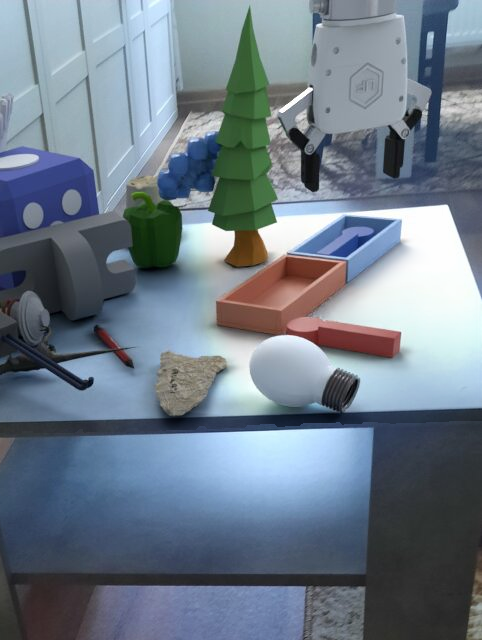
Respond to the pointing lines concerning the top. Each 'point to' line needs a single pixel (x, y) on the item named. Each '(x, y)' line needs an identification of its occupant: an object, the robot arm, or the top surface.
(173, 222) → the bell pepper
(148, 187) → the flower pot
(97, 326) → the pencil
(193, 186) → the grapes
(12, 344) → the dark blue hooked rod
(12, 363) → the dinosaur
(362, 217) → the blue bin
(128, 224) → the bracket
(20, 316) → the shock absorber
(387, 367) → the top surface
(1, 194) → the toy
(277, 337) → the light bulb
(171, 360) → the stone tool
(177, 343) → the top surface
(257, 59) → the decorative tree
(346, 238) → the blue spoon
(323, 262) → the red bin
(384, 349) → the red spoon
